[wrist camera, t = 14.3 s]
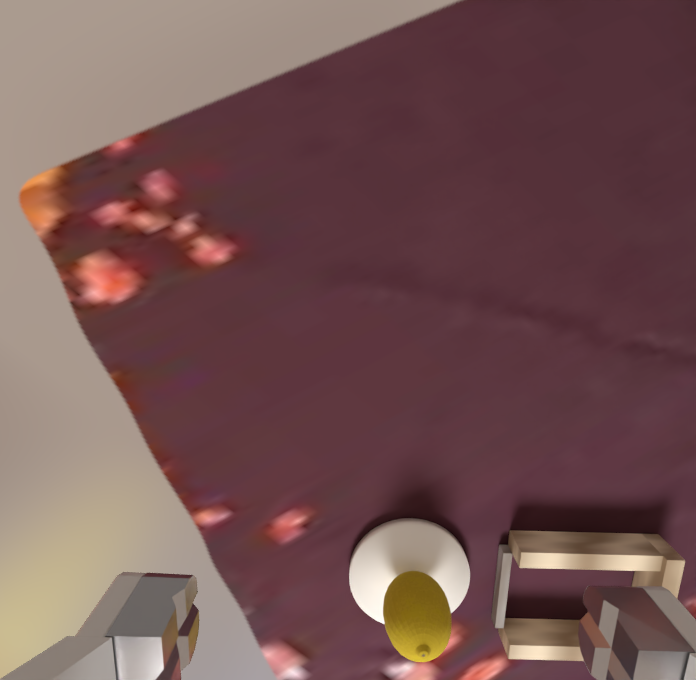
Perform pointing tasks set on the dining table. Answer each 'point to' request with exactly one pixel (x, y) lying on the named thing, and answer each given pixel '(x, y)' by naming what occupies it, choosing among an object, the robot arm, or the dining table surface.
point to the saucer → (406, 562)
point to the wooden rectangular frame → (574, 553)
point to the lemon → (417, 616)
